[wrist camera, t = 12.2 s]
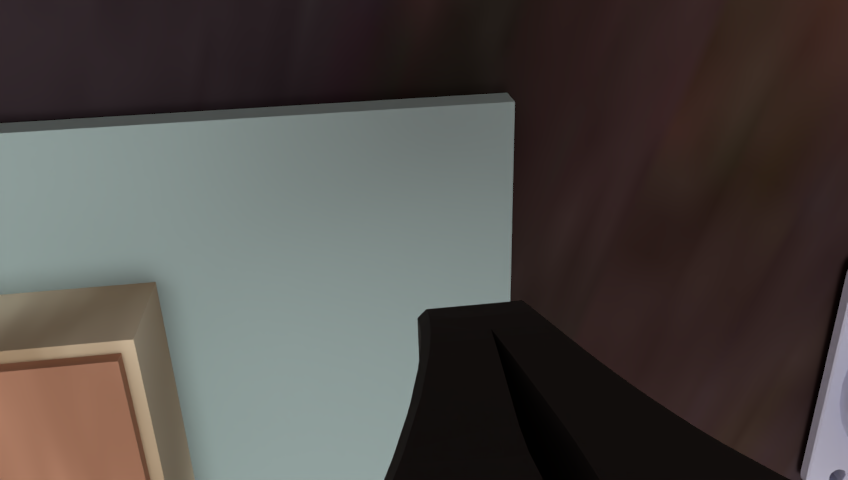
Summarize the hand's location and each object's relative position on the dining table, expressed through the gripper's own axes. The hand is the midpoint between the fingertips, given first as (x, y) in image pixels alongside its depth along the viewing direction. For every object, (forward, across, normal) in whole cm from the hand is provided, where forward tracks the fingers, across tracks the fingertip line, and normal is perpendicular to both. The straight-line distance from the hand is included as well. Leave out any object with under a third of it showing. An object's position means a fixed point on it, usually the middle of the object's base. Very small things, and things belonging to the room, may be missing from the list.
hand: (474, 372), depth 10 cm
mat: (+9, +6, +6) cm, 13 cm away
